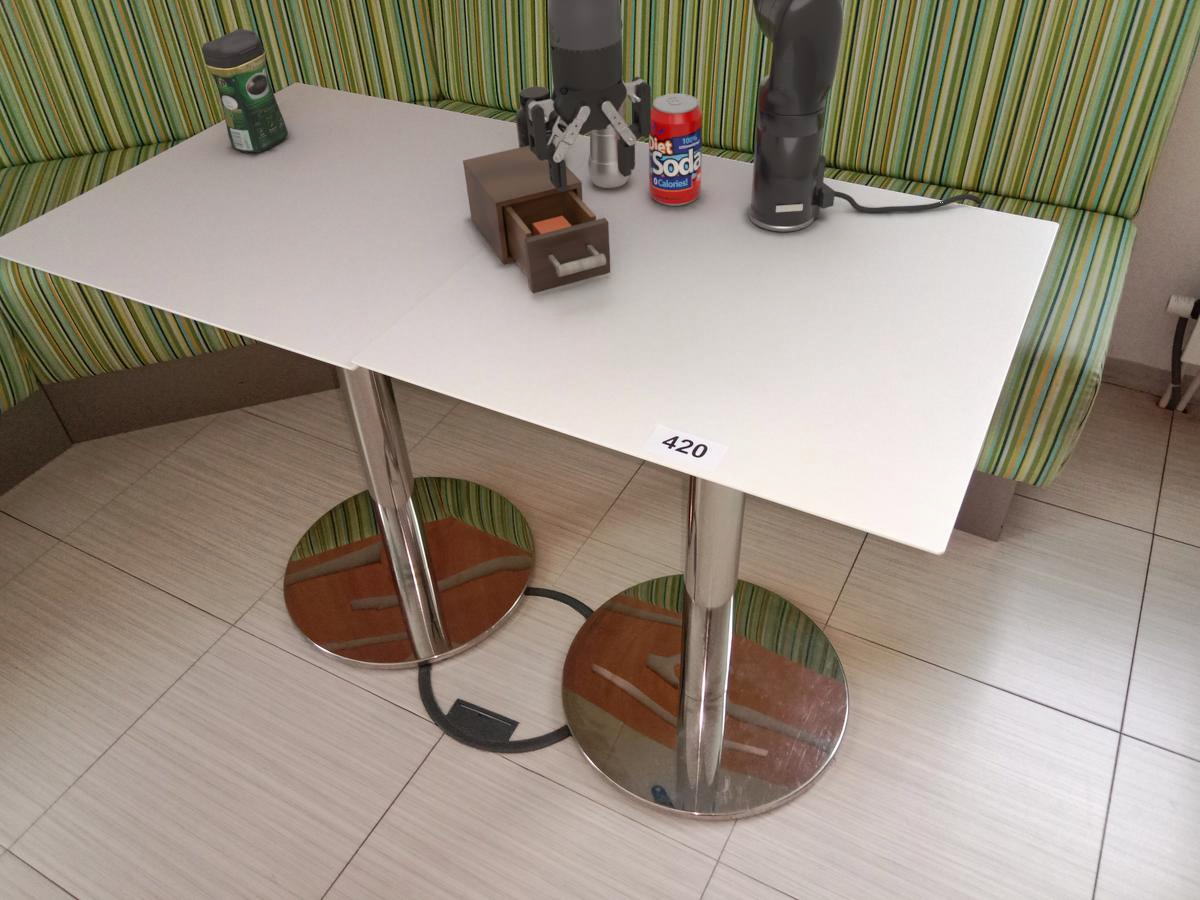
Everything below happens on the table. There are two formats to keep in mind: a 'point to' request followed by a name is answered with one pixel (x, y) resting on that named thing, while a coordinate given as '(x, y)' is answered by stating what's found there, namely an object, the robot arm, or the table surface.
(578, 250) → the drawer
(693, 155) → the soda can
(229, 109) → the coffee jar
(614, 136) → the silver metal bottle
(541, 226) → the block
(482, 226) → the cabinet
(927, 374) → the table surface
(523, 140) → the supplement bottle
